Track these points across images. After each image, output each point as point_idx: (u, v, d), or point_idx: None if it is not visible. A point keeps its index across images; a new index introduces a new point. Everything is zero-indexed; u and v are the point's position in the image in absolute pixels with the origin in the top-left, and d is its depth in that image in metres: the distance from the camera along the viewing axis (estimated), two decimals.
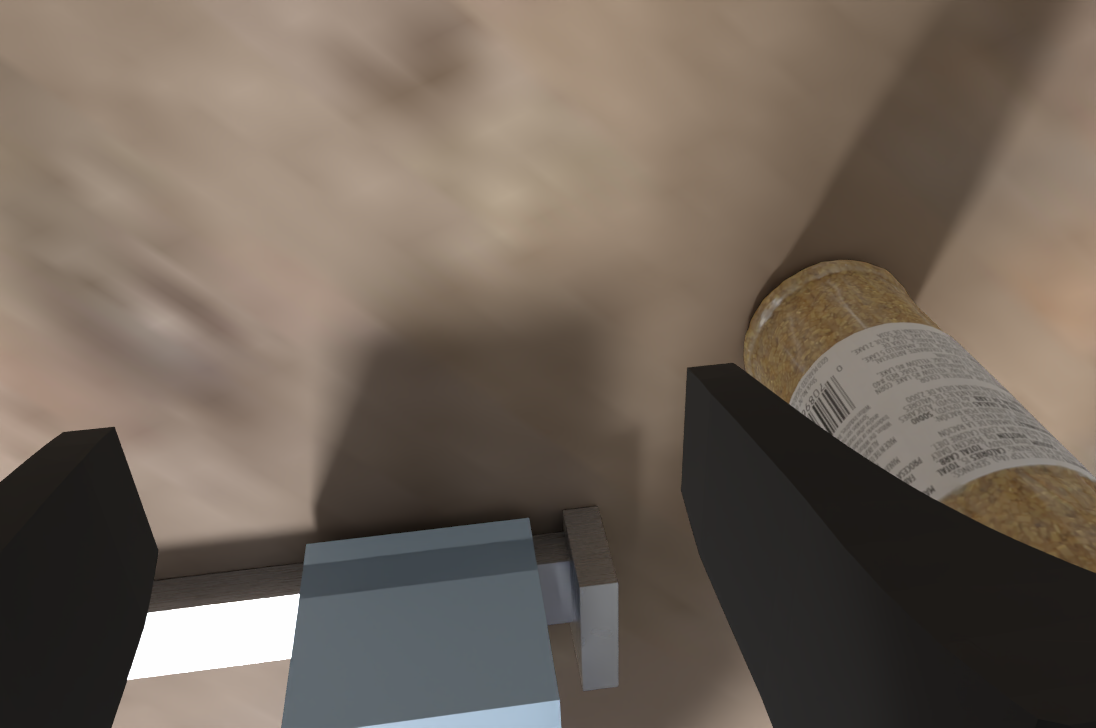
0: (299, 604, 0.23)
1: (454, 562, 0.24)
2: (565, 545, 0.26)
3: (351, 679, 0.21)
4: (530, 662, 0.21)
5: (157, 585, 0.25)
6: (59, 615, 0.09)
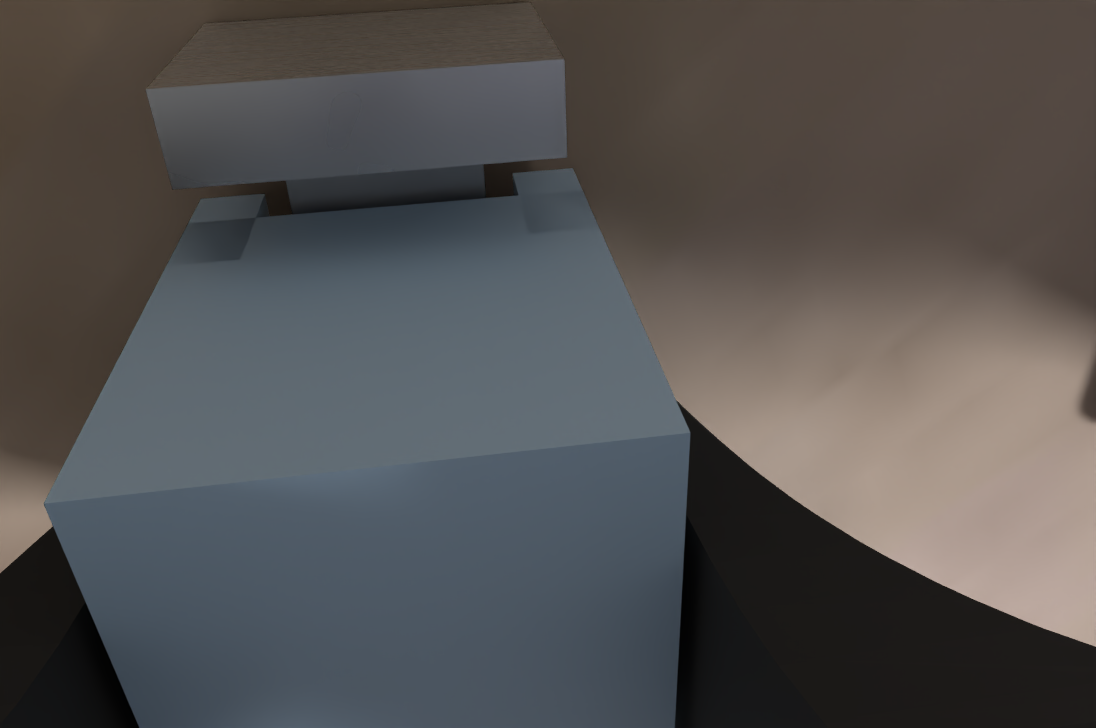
0: None
1: None
2: None
3: None
4: None
5: None
6: None
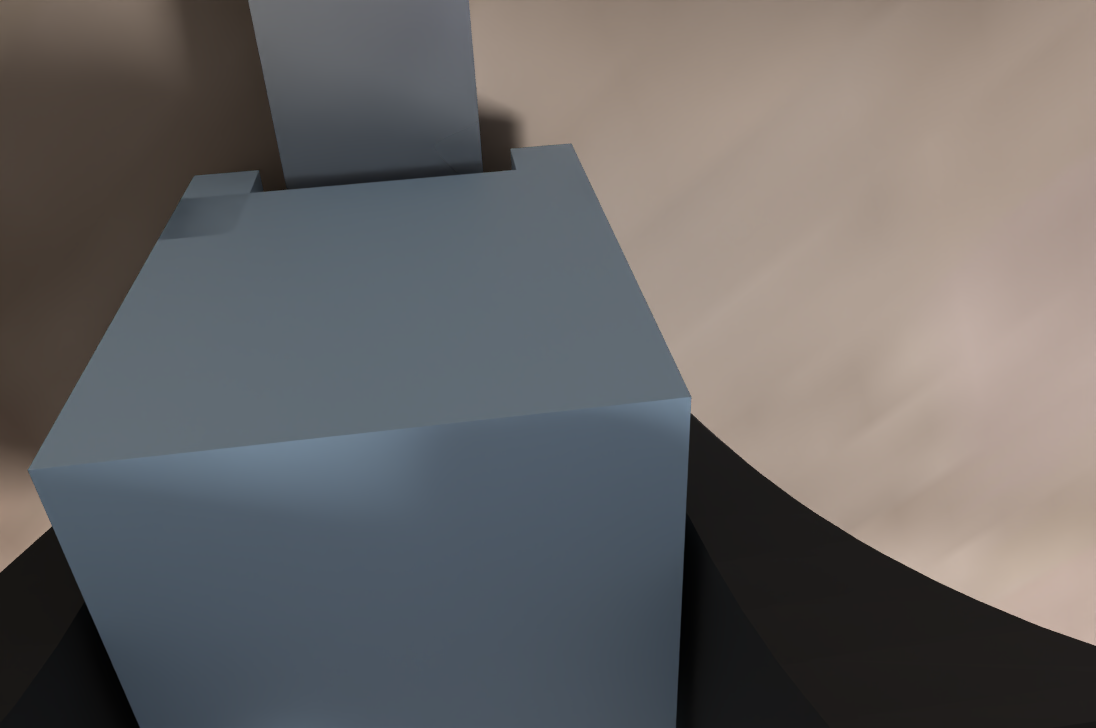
0: None
1: None
2: None
3: None
4: None
5: None
6: None
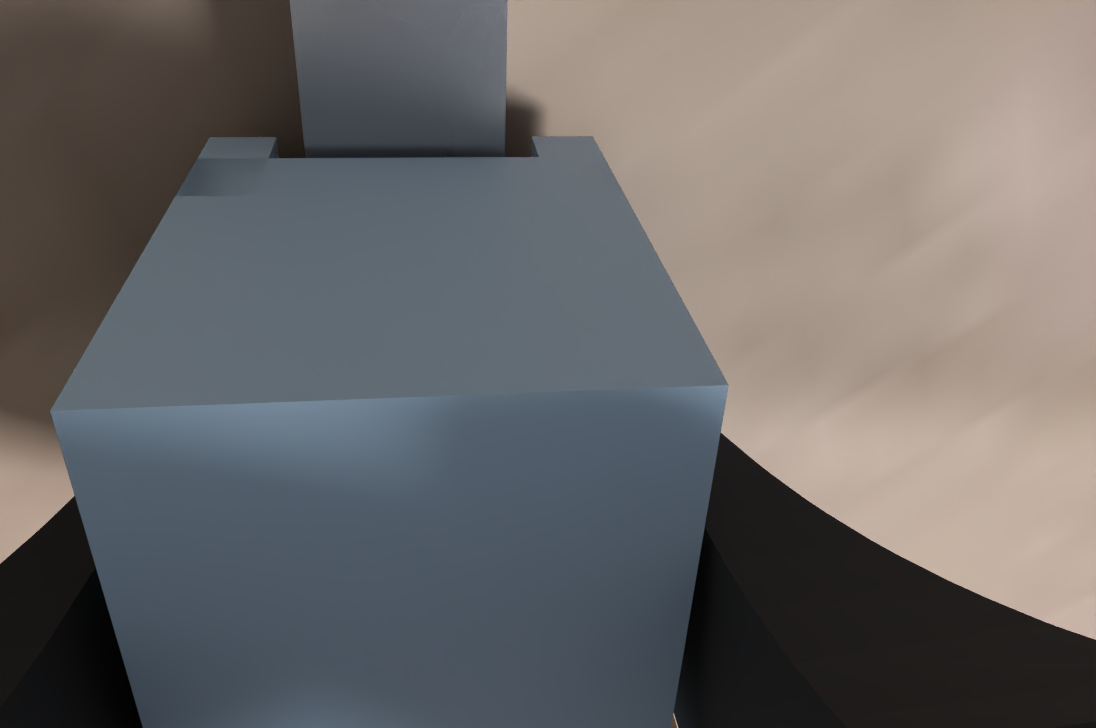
0: None
1: None
2: None
3: None
4: None
5: None
6: None
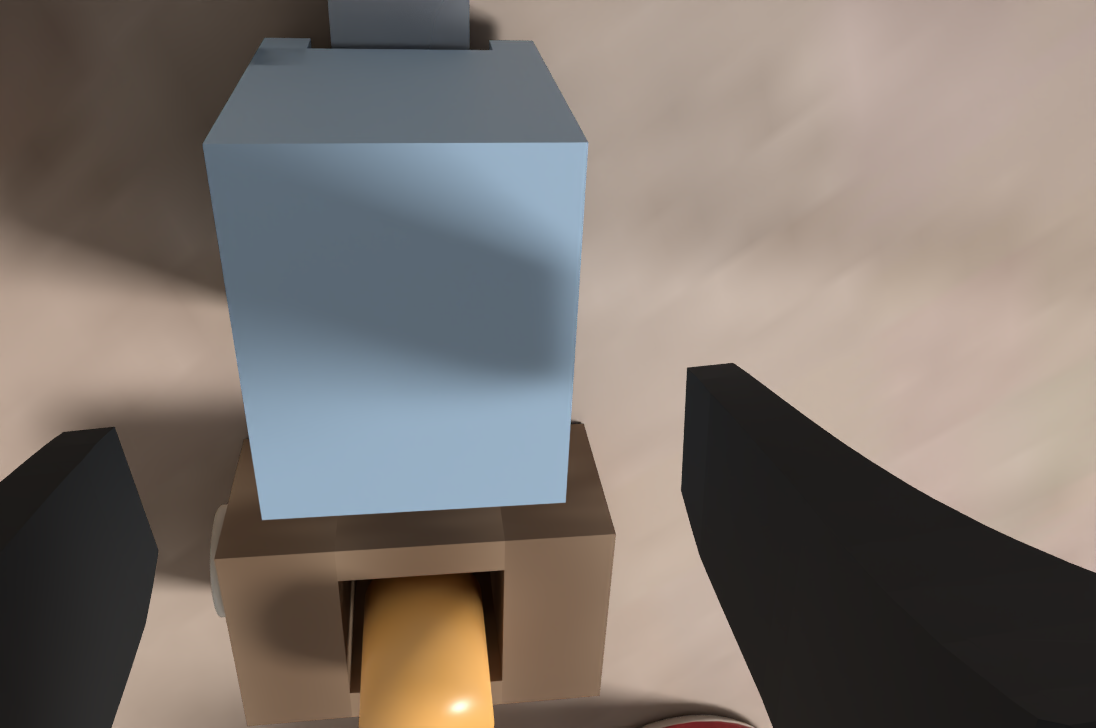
0: None
1: None
2: None
3: None
4: None
5: None
6: (59, 615, 0.09)
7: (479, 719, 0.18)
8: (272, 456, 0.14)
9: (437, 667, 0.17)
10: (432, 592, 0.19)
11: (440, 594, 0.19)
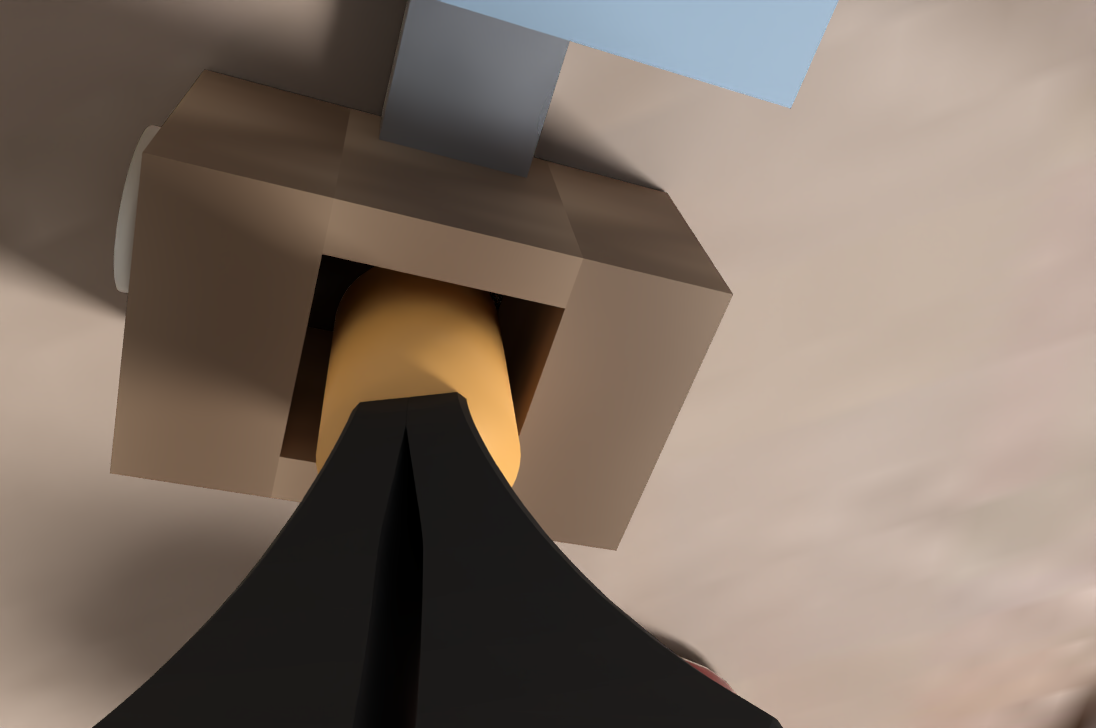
0: None
1: None
2: None
3: None
4: None
5: None
6: (405, 574, 0.10)
7: (498, 465, 0.12)
8: None
9: (462, 367, 0.12)
10: (452, 295, 0.13)
11: (462, 300, 0.13)
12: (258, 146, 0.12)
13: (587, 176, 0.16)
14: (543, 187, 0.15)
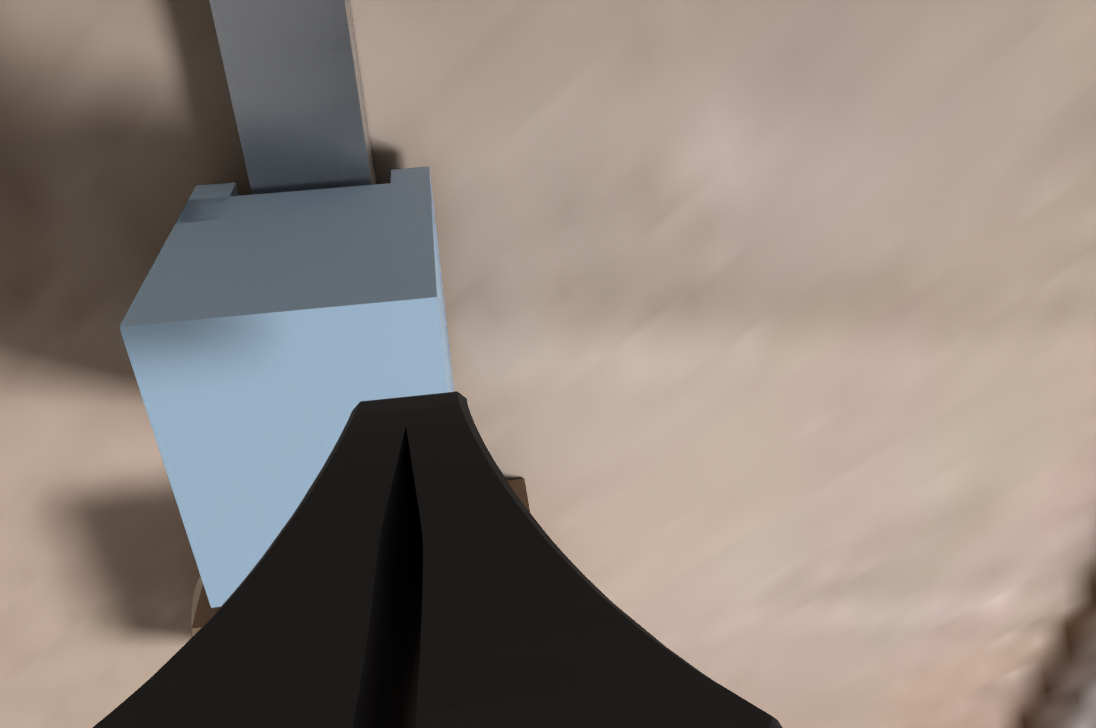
0: None
1: None
2: None
3: None
4: None
5: None
6: (405, 574, 0.10)
7: None
8: (212, 557, 0.16)
9: None
10: None
11: None
12: None
13: None
14: None
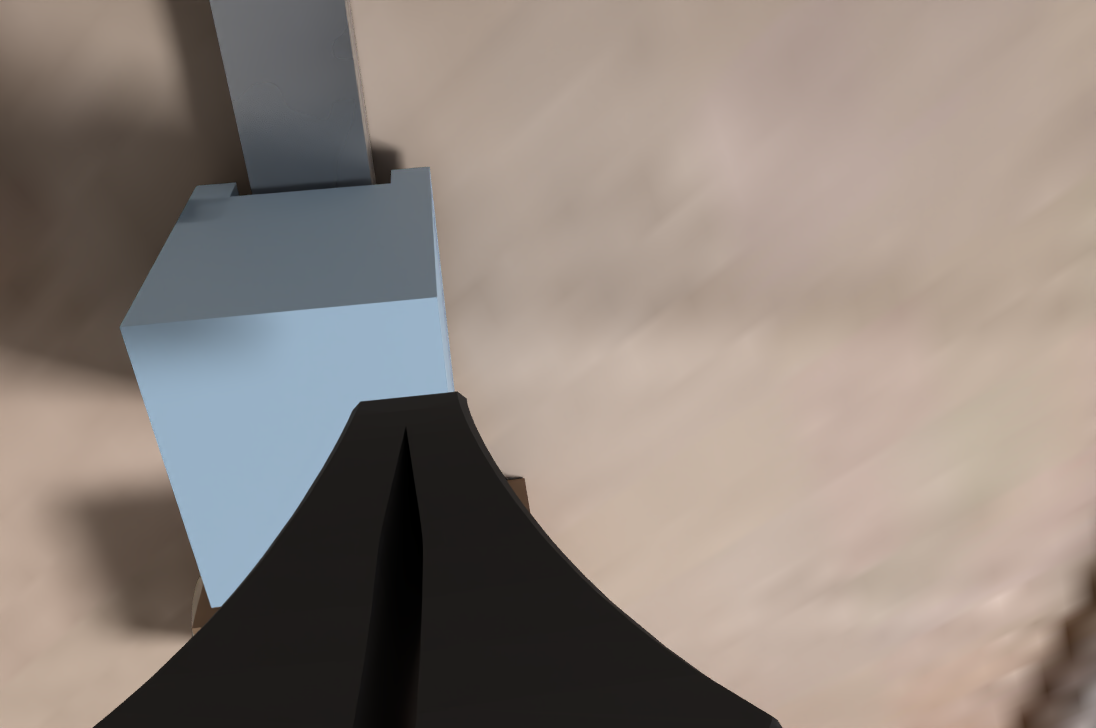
0: None
1: None
2: None
3: None
4: None
5: None
6: (405, 573, 0.10)
7: None
8: (212, 557, 0.16)
9: None
10: None
11: None
12: None
13: None
14: None
